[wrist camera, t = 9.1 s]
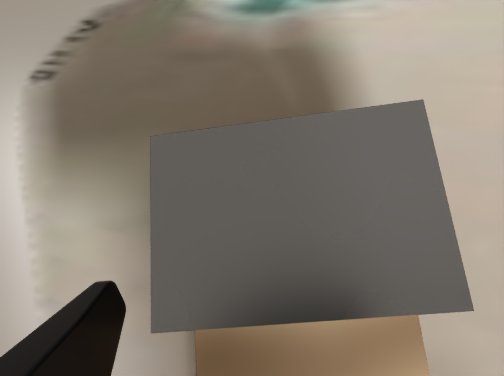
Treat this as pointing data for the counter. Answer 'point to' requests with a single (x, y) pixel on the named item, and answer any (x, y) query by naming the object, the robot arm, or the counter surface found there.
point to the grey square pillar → (302, 222)
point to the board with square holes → (315, 349)
